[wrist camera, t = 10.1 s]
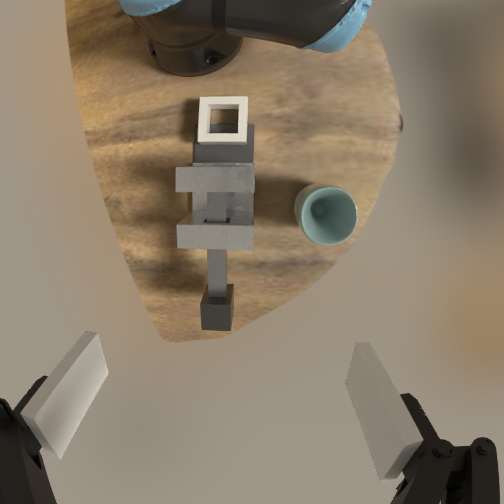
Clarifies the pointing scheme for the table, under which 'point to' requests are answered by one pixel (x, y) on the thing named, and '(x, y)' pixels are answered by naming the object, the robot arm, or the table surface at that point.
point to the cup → (325, 213)
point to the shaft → (217, 274)
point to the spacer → (222, 103)
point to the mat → (225, 147)
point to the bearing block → (238, 206)
